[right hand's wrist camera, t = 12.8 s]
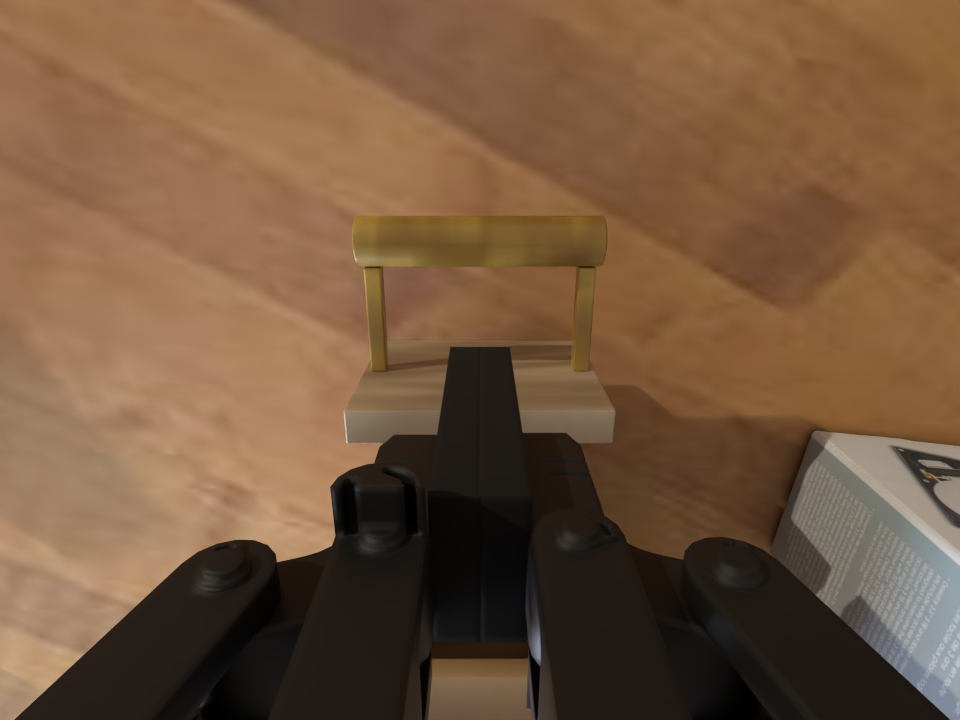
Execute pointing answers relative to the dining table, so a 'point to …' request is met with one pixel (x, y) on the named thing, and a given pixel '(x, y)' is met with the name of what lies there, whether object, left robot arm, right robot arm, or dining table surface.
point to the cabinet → (479, 689)
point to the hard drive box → (883, 549)
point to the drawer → (423, 363)
